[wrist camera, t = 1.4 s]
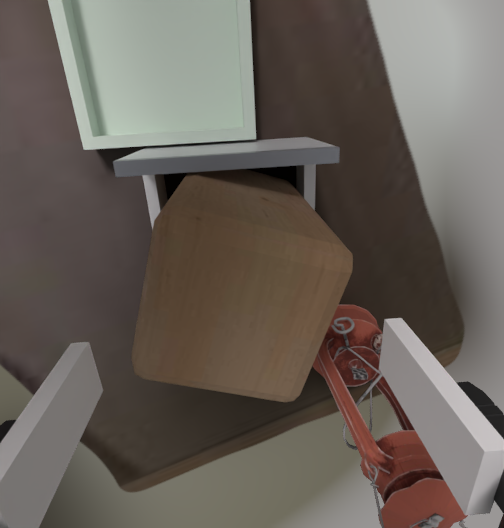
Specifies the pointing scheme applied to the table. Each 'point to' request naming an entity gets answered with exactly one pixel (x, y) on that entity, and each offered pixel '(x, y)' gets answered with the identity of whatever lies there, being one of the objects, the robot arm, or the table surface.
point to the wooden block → (238, 287)
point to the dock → (226, 163)
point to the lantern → (389, 446)
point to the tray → (157, 70)
